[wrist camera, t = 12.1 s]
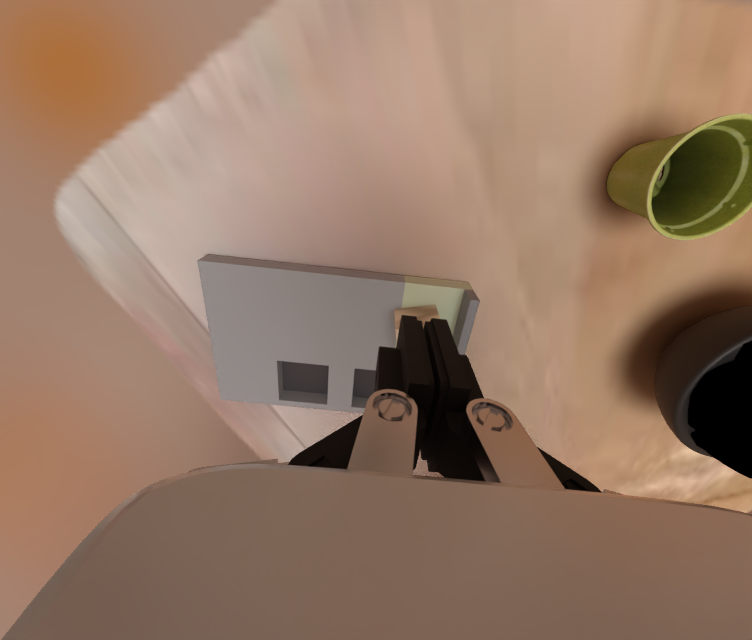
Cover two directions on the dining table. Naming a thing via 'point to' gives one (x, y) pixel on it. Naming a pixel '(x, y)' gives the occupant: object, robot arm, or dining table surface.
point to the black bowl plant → (711, 387)
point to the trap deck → (313, 328)
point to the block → (416, 314)
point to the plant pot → (689, 178)
